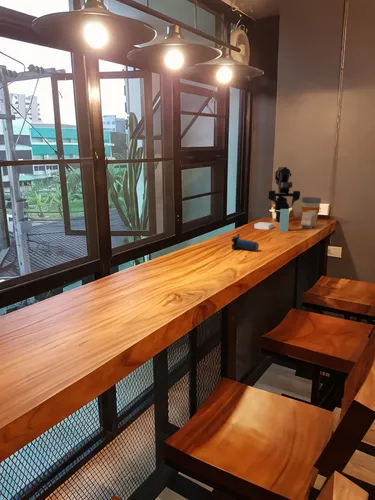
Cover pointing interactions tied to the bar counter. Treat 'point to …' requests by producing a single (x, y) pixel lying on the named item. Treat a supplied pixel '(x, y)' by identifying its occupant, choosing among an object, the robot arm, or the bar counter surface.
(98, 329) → the bar counter surface
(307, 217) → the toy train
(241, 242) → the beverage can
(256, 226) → the base brick
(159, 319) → the bar counter surface
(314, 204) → the reusable coffee cup
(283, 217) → the teal column
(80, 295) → the bar counter surface
